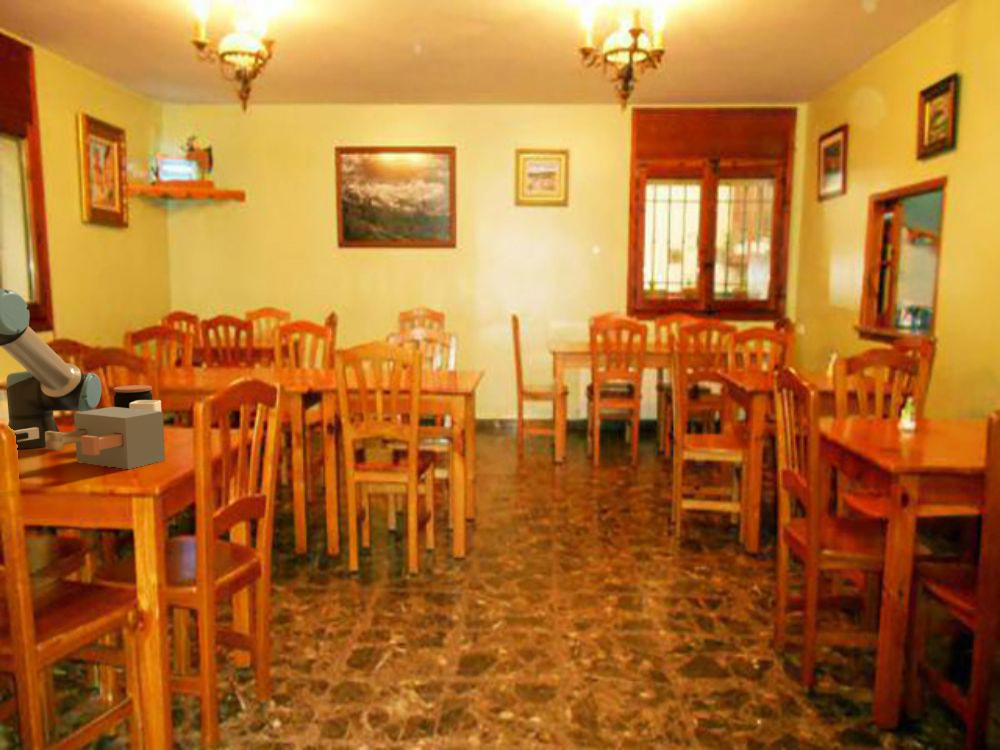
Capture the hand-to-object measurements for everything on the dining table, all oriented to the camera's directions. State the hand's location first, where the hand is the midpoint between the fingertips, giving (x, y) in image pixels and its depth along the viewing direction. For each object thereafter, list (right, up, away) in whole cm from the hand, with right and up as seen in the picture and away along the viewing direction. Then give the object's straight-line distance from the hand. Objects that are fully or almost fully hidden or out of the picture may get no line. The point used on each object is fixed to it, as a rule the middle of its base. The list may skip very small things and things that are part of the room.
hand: (36, 432), depth 189 cm
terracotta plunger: (+17, -5, +4) cm, 18 cm away
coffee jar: (+6, -7, +38) cm, 39 cm away
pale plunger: (+4, -4, +10) cm, 11 cm away
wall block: (+14, -9, +15) cm, 23 cm away
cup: (+15, -8, +29) cm, 34 cm away
